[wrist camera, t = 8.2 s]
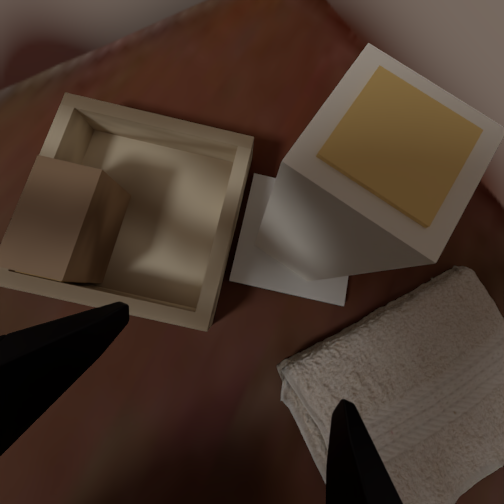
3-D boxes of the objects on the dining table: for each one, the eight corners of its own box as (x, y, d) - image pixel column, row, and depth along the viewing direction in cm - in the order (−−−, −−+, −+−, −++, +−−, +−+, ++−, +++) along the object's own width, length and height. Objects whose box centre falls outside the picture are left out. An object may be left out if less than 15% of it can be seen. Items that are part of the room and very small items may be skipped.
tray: (212, 324, 18) (206, 331, 15) (28, 284, 18) (-14, 283, 15) (252, 159, 20) (254, 137, 17) (90, 121, 20) (65, 92, 17)
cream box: (307, 281, 18) (440, 262, 6) (254, 244, 18) (282, 158, 6) (341, 228, 19) (515, 122, 7) (289, 194, 19) (373, 34, 7)
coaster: (340, 305, 19) (344, 306, 18) (229, 280, 18) (229, 280, 18) (356, 200, 20) (360, 197, 20) (254, 176, 20) (254, 173, 19)
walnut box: (101, 285, 17) (61, 283, 13) (47, 273, 17) (-10, 267, 13) (131, 195, 18) (102, 169, 15) (80, 183, 18) (37, 154, 14)
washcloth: (264, 365, 18) (269, 381, 15) (448, 260, 20) (485, 255, 17) (343, 524, 17) (366, 577, 14) (531, 392, 19) (587, 411, 16)
